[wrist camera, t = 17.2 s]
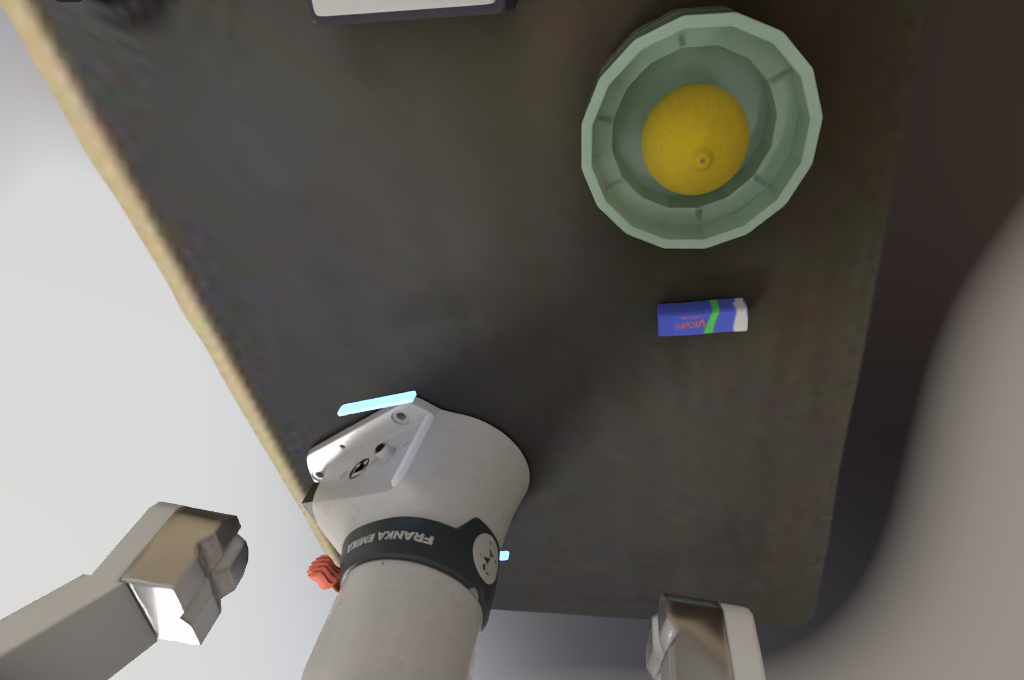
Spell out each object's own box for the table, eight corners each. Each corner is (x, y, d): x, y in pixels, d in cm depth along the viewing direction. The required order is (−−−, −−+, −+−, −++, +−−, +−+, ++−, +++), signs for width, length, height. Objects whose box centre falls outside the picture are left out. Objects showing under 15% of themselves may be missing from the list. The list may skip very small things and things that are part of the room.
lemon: (738, 156, 35) (765, 203, 28) (646, 176, 36) (651, 225, 30) (732, 60, 32) (760, 87, 25) (633, 86, 33) (635, 117, 27)
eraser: (742, 318, 41) (747, 333, 40) (657, 323, 43) (658, 338, 41) (743, 295, 40) (749, 309, 39) (656, 300, 42) (658, 314, 40)
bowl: (626, 243, 39) (626, 276, 35) (554, 69, 34) (545, 84, 30) (815, 173, 35) (840, 202, 31) (768, -40, 30) (791, -39, 26)
